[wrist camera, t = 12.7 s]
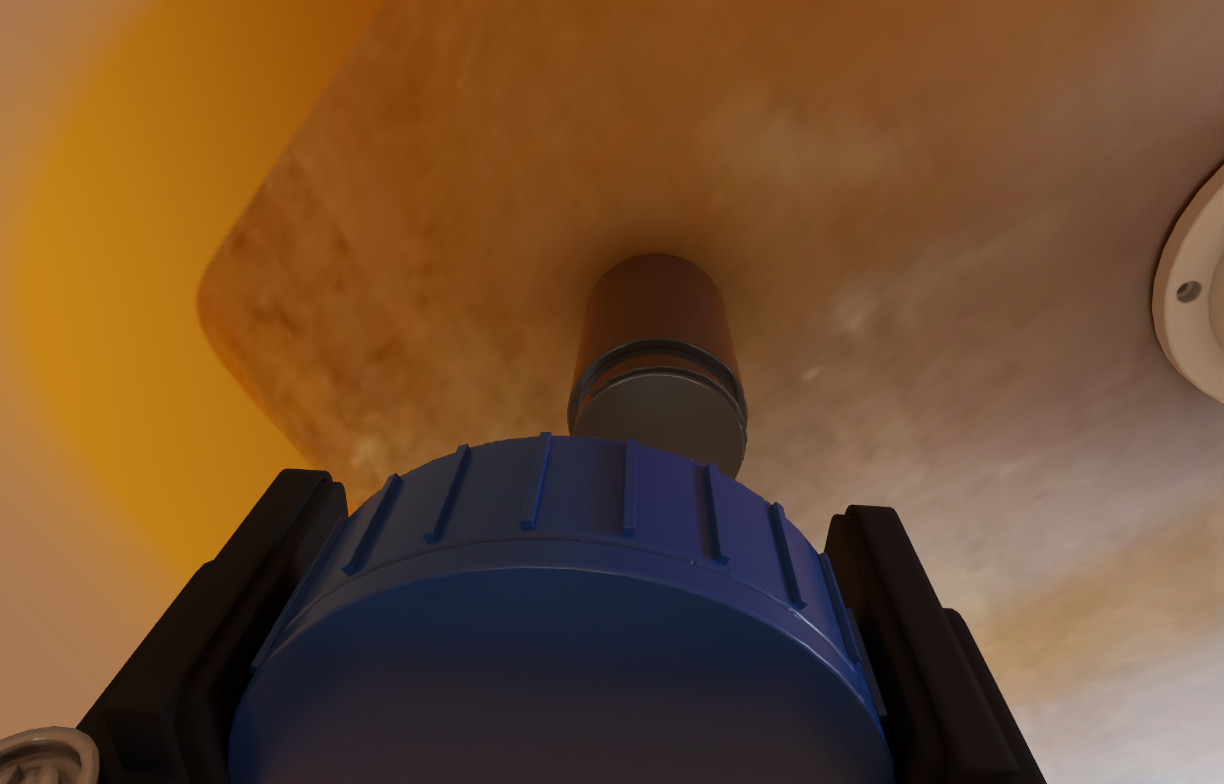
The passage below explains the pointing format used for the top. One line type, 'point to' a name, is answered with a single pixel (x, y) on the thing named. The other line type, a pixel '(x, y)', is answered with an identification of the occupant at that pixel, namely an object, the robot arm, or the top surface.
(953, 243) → the top surface
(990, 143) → the top surface
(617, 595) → the jar lid
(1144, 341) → the top surface
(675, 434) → the jar
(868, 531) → the robot arm
